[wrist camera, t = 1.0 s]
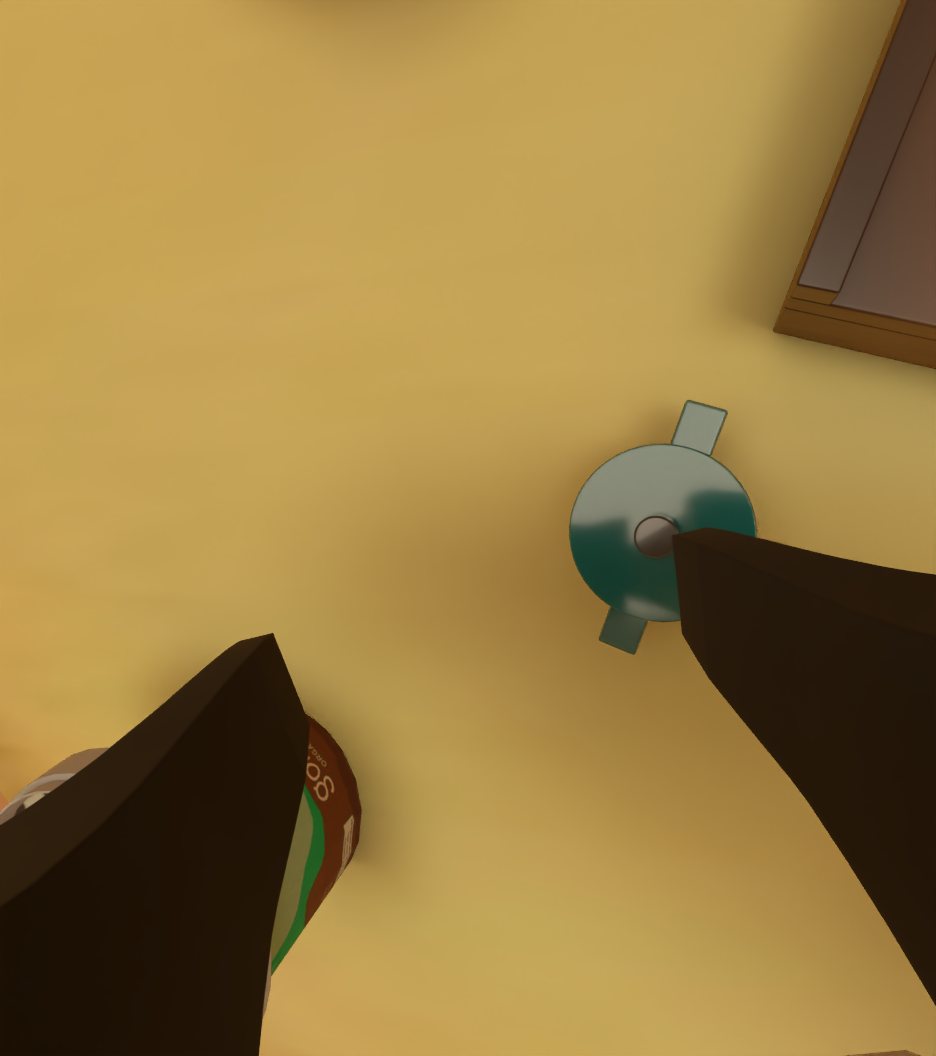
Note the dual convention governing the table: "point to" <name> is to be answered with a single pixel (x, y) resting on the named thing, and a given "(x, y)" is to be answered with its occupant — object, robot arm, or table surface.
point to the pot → (652, 521)
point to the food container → (315, 846)
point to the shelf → (879, 213)
